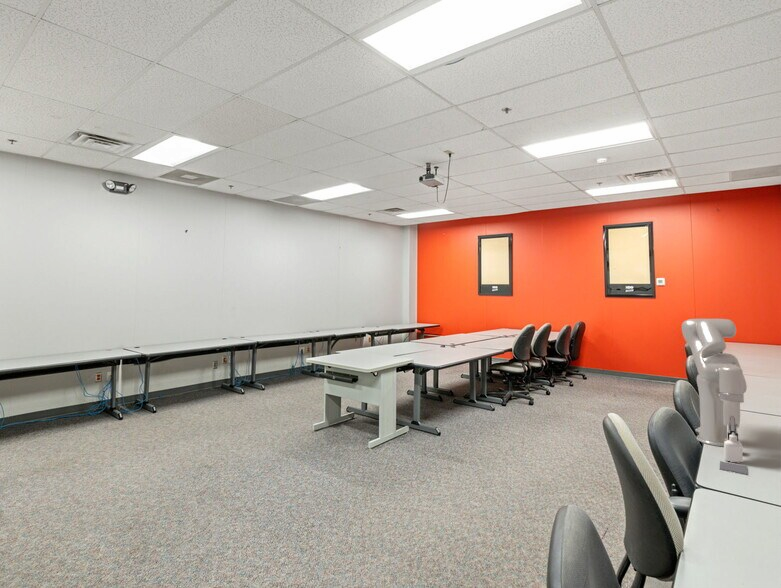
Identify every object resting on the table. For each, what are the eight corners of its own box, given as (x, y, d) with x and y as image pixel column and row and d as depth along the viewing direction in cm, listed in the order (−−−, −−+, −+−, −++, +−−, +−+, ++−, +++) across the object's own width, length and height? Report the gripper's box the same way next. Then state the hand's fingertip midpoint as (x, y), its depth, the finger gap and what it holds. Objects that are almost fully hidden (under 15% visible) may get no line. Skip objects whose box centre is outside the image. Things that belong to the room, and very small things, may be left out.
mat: (720, 462, 162) (720, 461, 162) (746, 467, 157) (746, 466, 157) (719, 469, 156) (719, 468, 156) (747, 475, 150) (747, 473, 150)
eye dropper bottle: (741, 465, 160) (741, 436, 158) (722, 460, 164) (723, 432, 162) (743, 460, 162) (743, 432, 161) (725, 455, 167) (725, 428, 165)
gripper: (719, 392, 173) (721, 436, 173) (719, 399, 162) (720, 445, 161) (743, 395, 168) (744, 440, 168) (744, 401, 157) (746, 450, 156)
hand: (733, 442), depth 164 cm, fingers closed
